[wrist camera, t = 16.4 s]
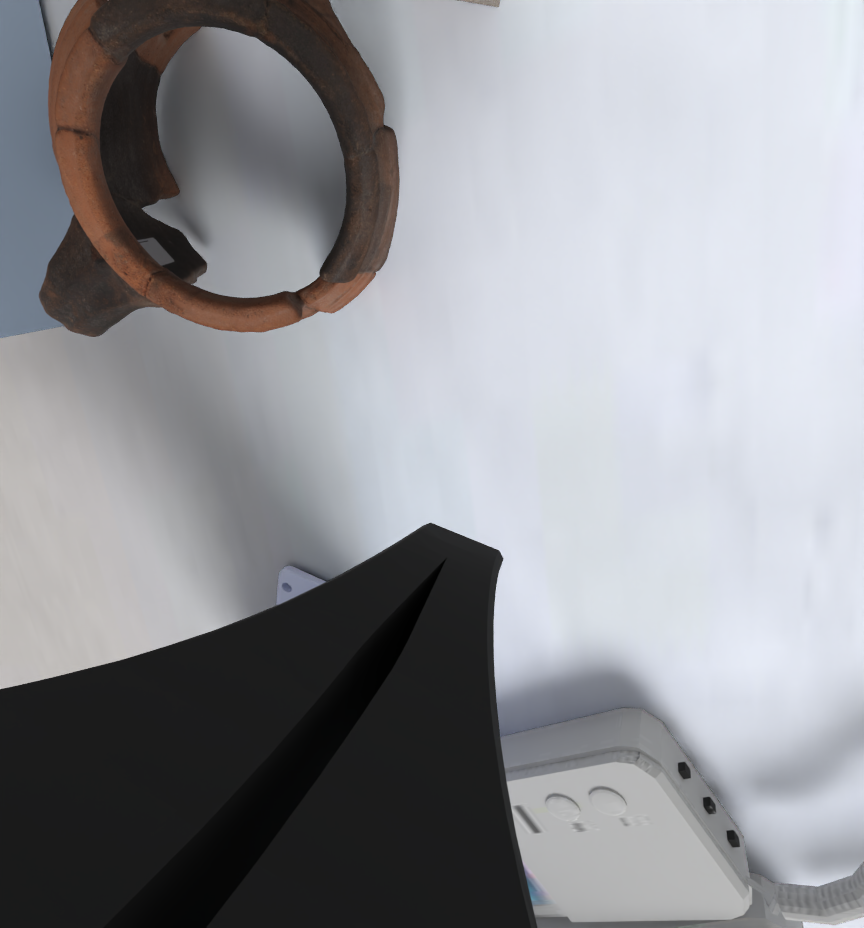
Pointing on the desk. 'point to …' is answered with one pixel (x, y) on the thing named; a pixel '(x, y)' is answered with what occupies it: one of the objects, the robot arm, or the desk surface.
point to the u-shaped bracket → (485, 2)
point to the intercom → (641, 836)
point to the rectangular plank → (26, 171)
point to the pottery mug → (148, 178)
